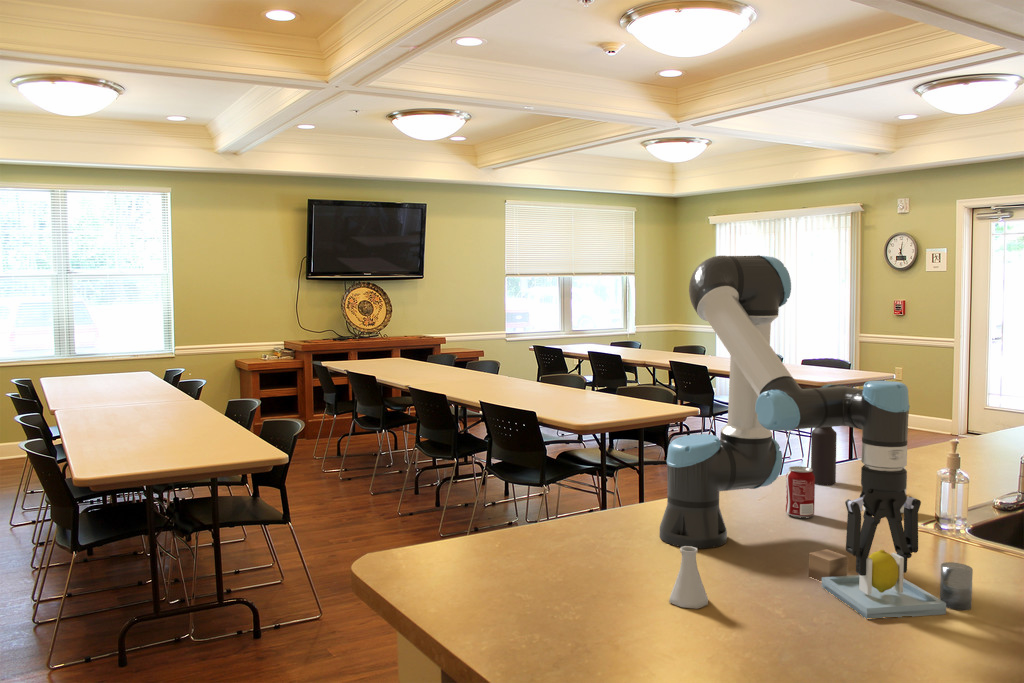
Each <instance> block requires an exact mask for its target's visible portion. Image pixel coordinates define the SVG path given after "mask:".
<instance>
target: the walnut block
mask: <svg viewBox="0 0 1024 683" xmlns="http://www.w3.org/2000/svg"><path fill="white" fill-rule="evenodd" d="M835 576H848V556H847V555H846V554H845V555H844V554H841V553H839V552H835V551H833V550H830V549H827V548H826V549H822V550H817V551H812V552H809V553H808V578H809V577H812V578H814V579H817V580H819V581H822V577H835ZM814 579H813V580H814ZM819 581H818V582H819Z"/></svg>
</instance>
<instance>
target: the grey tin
mask: <svg viewBox="0 0 1024 683" xmlns="http://www.w3.org/2000/svg"><path fill="white" fill-rule="evenodd" d="M973 573H974V571H973V567H971V566H970V565H967V564H964V563H959V562H954V561H953V562H952V561H951V562H950V561H948V562H943V563H941V564H940V585H939V591H940V592H939V599H940V600H942V601H944V602H945V603H946V609H950V610H956V611H970V610H971V609H972V605H973V603H972V602H973V601H972V600H973V598H972V597H973Z"/></svg>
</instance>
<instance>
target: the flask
mask: <svg viewBox="0 0 1024 683" xmlns="http://www.w3.org/2000/svg"><path fill="white" fill-rule="evenodd" d="M698 549H699V548H695V547H691V546H684V547H680V548H679V550H680V553H681V562H680V567H679V568H680V569H679V570H678V573H677V577H676V578H675V583H674V584H673V587H672V590H671V593H670V596H669V601H668V603H669V604H673V605H675V606H678V607H680V608H684V609H685V608H687V609H701V608H703V607H706V606H708V605H709V598H708V594H707V591H706V589H705V586H704V583H703V581H702V579H701V575H700V572H699V569H698V563H697V554H698V551H699V550H698Z"/></svg>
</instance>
